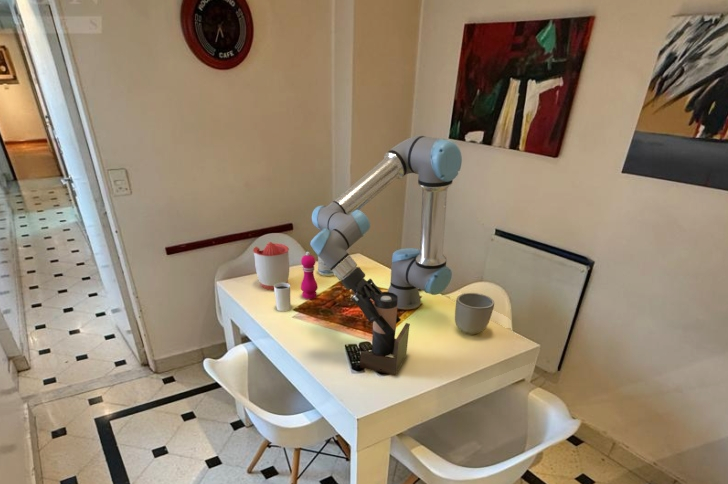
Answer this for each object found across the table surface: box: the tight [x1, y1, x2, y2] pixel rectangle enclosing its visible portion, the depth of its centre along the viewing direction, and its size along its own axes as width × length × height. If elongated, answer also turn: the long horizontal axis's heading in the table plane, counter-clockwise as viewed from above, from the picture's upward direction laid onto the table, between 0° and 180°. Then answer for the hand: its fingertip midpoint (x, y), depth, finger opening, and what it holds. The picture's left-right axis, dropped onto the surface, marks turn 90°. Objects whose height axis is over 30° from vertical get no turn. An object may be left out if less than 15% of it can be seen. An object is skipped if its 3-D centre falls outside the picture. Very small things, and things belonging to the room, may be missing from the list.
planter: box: [454, 292, 495, 336], centre depth 175 cm, size 14×14×13 cm
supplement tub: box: [317, 255, 339, 277], centre depth 221 cm, size 10×10×15 cm
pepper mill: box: [300, 251, 318, 300], centre depth 197 cm, size 7×7×20 cm
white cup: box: [273, 282, 292, 312], centre depth 190 cm, size 7×7×10 cm
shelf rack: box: [359, 322, 411, 376], centre depth 157 cm, size 14×13×13 cm
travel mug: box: [372, 291, 398, 356], centre depth 152 cm, size 8×8×20 cm
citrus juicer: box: [252, 241, 290, 291], centre depth 207 cm, size 16×17×20 cm
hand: (394, 327), depth 151 cm, fingers closed on travel mug, 7 cm apart
